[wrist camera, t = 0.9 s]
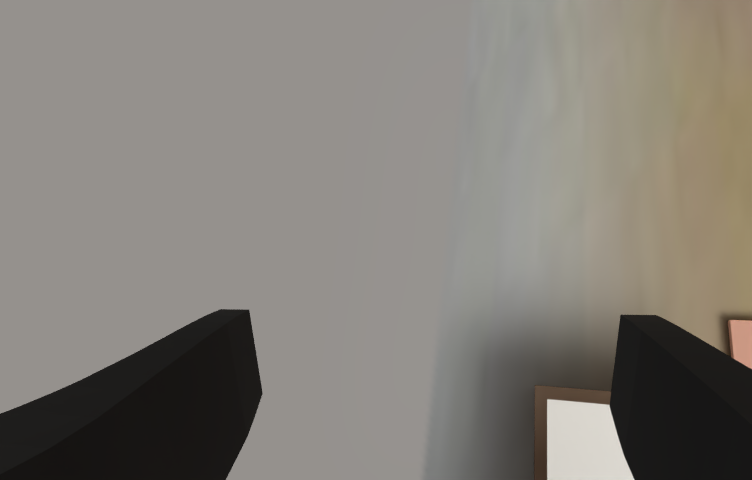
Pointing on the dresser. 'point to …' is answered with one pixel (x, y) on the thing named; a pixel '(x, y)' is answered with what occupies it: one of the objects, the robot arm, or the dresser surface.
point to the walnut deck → (541, 417)
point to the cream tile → (583, 443)
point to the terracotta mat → (741, 341)
